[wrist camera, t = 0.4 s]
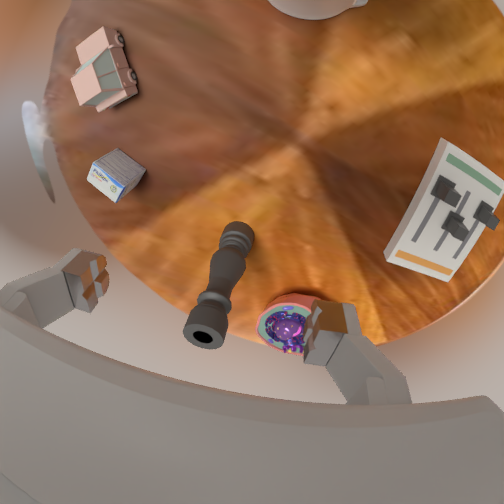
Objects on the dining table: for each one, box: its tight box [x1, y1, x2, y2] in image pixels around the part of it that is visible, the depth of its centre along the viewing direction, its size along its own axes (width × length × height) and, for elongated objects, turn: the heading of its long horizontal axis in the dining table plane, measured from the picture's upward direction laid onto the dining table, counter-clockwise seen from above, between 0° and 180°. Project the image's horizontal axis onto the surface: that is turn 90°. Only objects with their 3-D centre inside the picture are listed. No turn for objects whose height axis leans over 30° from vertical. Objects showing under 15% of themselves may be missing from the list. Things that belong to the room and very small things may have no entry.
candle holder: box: [183, 221, 254, 349], centre depth 46 cm, size 6×6×25 cm
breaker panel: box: [384, 138, 504, 282], centre depth 43 cm, size 26×18×3 cm
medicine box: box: [87, 148, 146, 203], centre depth 46 cm, size 8×4×9 cm, turn 50°
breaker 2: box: [473, 200, 500, 230], centre depth 37 cm, size 4×4×4 cm
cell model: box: [255, 293, 321, 356], centre depth 60 cm, size 17×20×11 cm
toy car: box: [71, 26, 138, 113], centre depth 33 cm, size 9×15×10 cm, turn 16°
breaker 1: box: [431, 175, 461, 208], centre depth 37 cm, size 4×4×4 cm
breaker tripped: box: [441, 211, 470, 242], centre depth 40 cm, size 4×4×4 cm
